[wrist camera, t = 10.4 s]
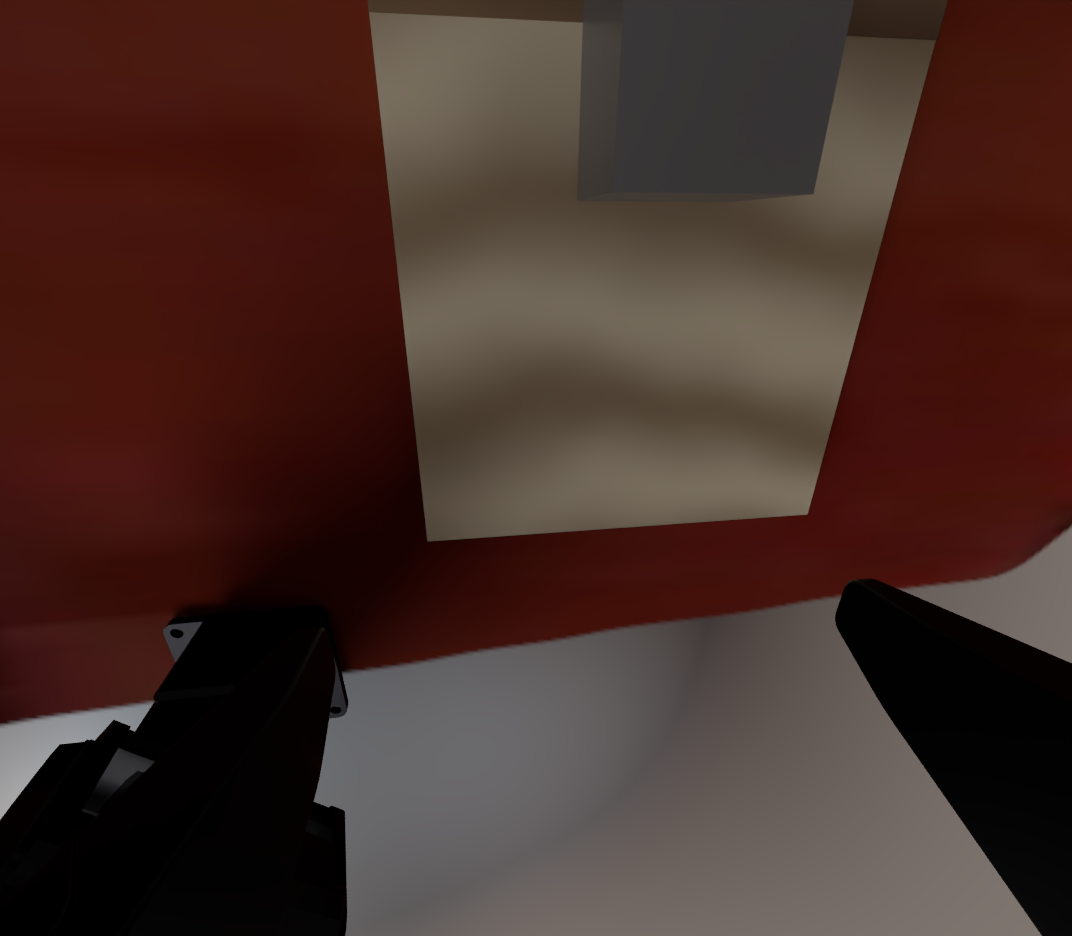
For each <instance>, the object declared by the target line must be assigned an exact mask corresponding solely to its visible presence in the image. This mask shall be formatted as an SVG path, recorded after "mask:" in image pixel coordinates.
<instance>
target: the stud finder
mask: <svg viewBox="0 0 1072 936" xmlns="http://www.w3.org/2000/svg"><path fill="white" fill-rule="evenodd" d="M853 4H854V0H584V2H583V33H582V65H581V96H580V128H579V159H578V191H577V200H580V201H720V202H735V201H746V200H756V199H767V198H777V197H788V196H799V195H809V194H814V189H815V185H816V180H817V175H818V170H819V166H820V161H821V156H822V151H823V147H824V142H825V137H826V132H827V128H828V123H829V118H830V113H831V108H832V104H833V99H834V94H835V89H836V85H837V80H838V75H839V70H840V66H841V61H842V56H843V51H844V47H845V42H846V37H847V32H848V27H849V23H850V18H851V13H852V8H853Z"/></svg>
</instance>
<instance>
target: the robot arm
mask: <svg viewBox="0 0 1072 936" xmlns="http://www.w3.org/2000/svg"><path fill="white" fill-rule="evenodd" d="M311 617H317V618H319V619H318V620H316V619H313V618H311ZM835 621H836V626H837V628H838V630H839V632H840V634H841V636H842V638H843V639H844V641H845V643H846V644H847V646H848V648H849V650H850V651H851V653H852V655H853V657H854V658H855V660H856V662H857V664H858V665H859V667H860V669H861V671H862V672H863V674H864V675H865V677H866V679H867V681H868V683H869V684H870V686H871V688H872V690H873V691H874V693H875V695H876V697H877V698H878V700H879V701H880V703H881V705H882V706H883V708H884V709H885V711H886V713H887V714H888V716H889V717H890V718H891V720H892V721H893V723H894V725H895V726H896V727H897V729H898V730H899V732H900V733H901V735H902V736H903V737H904V739H905V740H906V742H907V743H908V745H909V746H910V747H911V749H912V750H913V752H914V753H915V754H916V756H917V757H918V759H919V760H920V762H921V763H922V765H923V766H924V767H925V769H926V770H927V772H928V773H929V775H930V776H931V778H932V779H933V780H934V782H935V783H936V785H937V786H938V788H939V789H940V790H941V792H942V793H943V795H944V796H945V797H946V799H947V800H948V802H949V803H950V805H951V806H952V807H953V809H954V810H955V812H956V813H957V815H958V816H959V818H960V819H961V820H962V822H963V823H964V825H965V826H966V828H967V829H968V830H969V832H970V833H971V835H972V836H973V838H974V839H975V841H976V842H977V843H978V845H979V846H980V847H981V849H982V851H983V852H984V853H985V855H986V856H987V858H988V859H989V861H990V862H991V863H992V865H993V866H994V868H995V869H996V871H997V872H998V873H999V875H1000V876H1001V878H1002V879H1003V881H1004V882H1005V883H1006V885H1007V886H1008V888H1009V889H1010V891H1011V892H1012V894H1013V895H1014V896H1015V898H1016V899H1017V901H1018V902H1019V904H1020V905H1021V906H1022V908H1023V909H1024V911H1025V912H1026V913H1027V915H1028V916H1029V918H1030V919H1031V921H1032V922H1033V923H1034V925H1035V926H1036V928H1037V929H1038V931H1039V932H1040V934H1041V935H1042V936H1072V663H1069V662H1067V661H1065V660H1063V659H1060V658H1058V657H1056V656H1053V655H1051V654H1048V653H1046V652H1044V651H1041V650H1039V649H1037V648H1035V647H1032V646H1030V645H1028V644H1025V643H1023V642H1020V641H1018V640H1016V639H1013V638H1011V637H1009V636H1007V635H1004V634H1002V633H1000V632H997V631H995V630H993V629H990V628H988V627H985V626H983V625H981V624H978V623H976V622H974V621H971V620H969V619H967V618H964V617H962V616H960V615H957V614H955V613H953V612H950V611H948V610H946V609H943V608H941V607H939V606H936V605H934V604H932V603H929V602H927V601H925V600H922V599H920V598H918V597H915V596H913V595H910V594H908V593H906V592H904V591H901V590H899V589H897V588H894V587H892V586H890V585H887V584H885V583H883V582H880V581H878V580H875V579H857V580H851V581H849V582H848V583H847V584H846V585H845V587H844V590H843V593H842V596H841V599H840V602H839V605H838V608H837V611H836V615H835ZM177 629H179V630H181V631H179V630H177ZM163 632H164V636H165V639H166V641H167V643H168V646H169V648H170V651H171V653H172V655H173V658H174V660H175V662H176V663H175V664H174V666H173V667H172V669H171V670H170V672H169V673H168V675H167V676H166V678H165V679H164V681H163V682H162V684H161V685H160V687H159V688H158V690H157V691H156V693H155V694H154V697H153V699H154V701H155V702H154V703H153V705H152V707H151V708H150V710H149V711H148V713H147V714H146V716H145V718H144V719H143V720H142V722H141V723H140V725H139V727H138V728H137V730H136V731H135V732H134V731H132V730H129V729H130V726H128V725H126V724H123V723H120V722H118V721H115V720H113V721H112V722H111V724H110V725H109V726H108V727H107V728H106V729H105V730H104V731H103V732H102V734H101V735H100V736H99V737H98V738H97V739H96V740H95V741H94V740H86V741H85V742H79V743H71V744H60V745H59V746H58V747H57V748H56V749H55V751H54V752H53V753H52V754H51V755H50V756H49V758H48V759H47V760H46V762H45V763H44V764H43V765H42V767H41V768H40V769H39V771H38V772H37V773H36V774H35V776H34V777H33V778H32V779H31V781H30V782H29V783H28V785H27V786H26V787H25V788H24V790H23V791H22V792H21V794H20V795H19V796H18V797H17V799H16V800H15V801H14V803H13V804H12V805H11V806H10V808H9V809H8V811H7V812H6V813H5V814H4V816H3V817H2V818H1V820H0V936H345V932H346V922H347V893H346V891H347V890H346V848H345V847H346V844H345V811H344V810H341V809H339V808H336V807H334V806H330V807H326V806H323V805H321V804H318V803H315V802H313V801H314V798H315V794H316V790H317V786H318V781H319V777H320V771H321V766H322V760H323V754H324V747H325V741H326V735H327V728H328V722H329V718H336V717H341V716H343V715H344V714H345V713H346V712H347V708H348V698H347V694H346V689H345V685H344V681H343V676H342V672H341V668H340V663H339V659H338V654H337V650H336V646H335V641H334V637H333V633H332V628H331V624H330V619H329V615H328V613H327V611H326V610H325V609H324V608H322V607H319V606H310V607H298V608H287V609H275V610H263V611H251V612H239V613H227V614H215V615H203V616H191V617H180V618H174V619H172V620H171V621H170V622H169V623H168V624H167V626H166V627H165V629H164V631H163ZM335 706H337V707H335Z"/></svg>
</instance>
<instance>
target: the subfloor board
mask: <svg viewBox="0 0 1072 936" xmlns="http://www.w3.org/2000/svg"><path fill="white" fill-rule="evenodd" d="M583 2H584V0H368V8H369V15H370V24H371V33H372V42H373V51H374V61H375V70H376V79H377V88H378V97H379V106H380V115H381V124H382V133H383V142H384V151H385V160H386V170H387V179H388V188H389V197H390V206H391V215H392V224H393V233H394V242H395V251H396V260H397V269H398V278H399V288H400V297H401V306H402V315H403V324H404V333H405V342H406V351H407V360H408V369H409V378H410V387H411V397H412V406H413V415H414V424H415V433H416V442H417V451H418V460H419V469H420V478H421V487H422V496H423V506H424V515H425V524H426V533H427V542H428V541H442V540H456V539H470V538H484V537H498V536H512V535H526V534H540V533H554V532H568V531H582V530H596V529H610V528H624V527H638V526H652V525H666V524H680V523H694V522H708V521H722V520H736V519H750V518H764V517H778V516H792V515H806V514H808V511H809V507H810V503H811V500H812V496H813V492H814V489H815V485H816V481H817V477H818V474H819V470H820V466H821V463H822V459H823V455H824V452H825V448H826V444H827V441H828V437H829V433H830V429H831V426H832V422H833V418H834V415H835V411H836V407H837V404H838V400H839V396H840V392H841V389H842V385H843V381H844V378H845V374H846V370H847V367H848V363H849V359H850V356H851V352H852V348H853V344H854V341H855V337H856V333H857V330H858V326H859V322H860V319H861V315H862V311H863V307H864V304H865V300H866V296H867V293H868V289H869V285H870V282H871V278H872V274H873V271H874V267H875V263H876V259H877V256H878V252H879V248H880V245H881V241H882V237H883V234H884V230H885V226H886V222H887V219H888V215H889V211H890V208H891V204H892V200H893V197H894V193H895V189H896V186H897V182H898V178H899V174H900V171H901V167H902V163H903V160H904V156H905V152H906V149H907V145H908V141H909V137H910V134H911V130H912V126H913V123H914V119H915V115H916V112H917V108H918V104H919V100H920V97H921V93H922V89H923V86H924V82H925V78H926V75H927V71H928V67H929V64H930V60H931V56H932V52H933V49H934V45H935V41H936V40H937V39H938V35H939V31H940V28H941V24H942V20H943V17H944V13H945V9H946V6H947V2H948V0H854V4H853V8H852V13H851V18H850V23H849V27H848V32H847V37H846V42H845V47H844V51H843V56H842V61H841V66H840V70H839V75H838V80H837V85H836V89H835V94H834V99H833V104H832V108H831V113H830V118H829V123H828V128H827V132H826V137H825V142H824V147H823V151H822V156H821V161H820V166H819V170H818V175H817V180H816V185H815V189H814V194H809V195H799V196H788V197H777V198H767V199H756V200H746V201H735V202H720V201H580V200H577V191H578V159H579V128H580V96H581V65H582V33H583Z"/></svg>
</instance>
